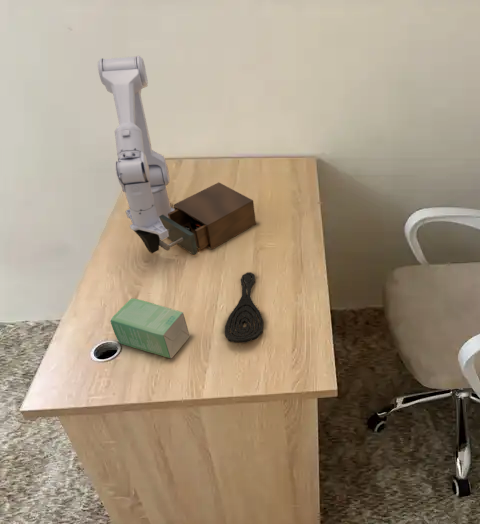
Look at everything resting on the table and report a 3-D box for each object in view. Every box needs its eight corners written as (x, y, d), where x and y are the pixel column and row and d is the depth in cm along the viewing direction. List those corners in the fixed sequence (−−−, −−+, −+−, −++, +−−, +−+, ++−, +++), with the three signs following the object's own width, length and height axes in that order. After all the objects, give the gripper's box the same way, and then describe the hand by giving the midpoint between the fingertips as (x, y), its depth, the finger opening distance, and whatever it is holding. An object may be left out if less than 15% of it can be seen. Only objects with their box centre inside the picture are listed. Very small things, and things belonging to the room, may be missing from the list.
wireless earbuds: (194, 223, 154) (192, 213, 152) (215, 230, 152) (214, 220, 150) (183, 232, 151) (180, 221, 149) (204, 239, 149) (202, 229, 147)
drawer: (176, 265, 142) (171, 246, 138) (145, 244, 149) (140, 225, 145) (237, 230, 154) (234, 211, 150) (206, 212, 160) (203, 193, 156)
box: (138, 320, 128) (130, 295, 123) (190, 336, 124) (184, 311, 120) (117, 343, 123) (107, 318, 118) (171, 360, 119) (163, 335, 114)
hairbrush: (265, 264, 139) (260, 336, 119) (266, 277, 141) (262, 348, 121) (230, 266, 139) (219, 338, 118) (232, 278, 141) (222, 351, 120)
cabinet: (212, 249, 148) (207, 225, 144) (178, 228, 156) (173, 204, 151) (256, 224, 157) (253, 200, 153) (222, 205, 165) (218, 182, 160)
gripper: (109, 200, 136) (123, 246, 144) (144, 223, 129) (157, 270, 137) (135, 188, 140) (147, 233, 149) (171, 210, 133) (181, 256, 141)
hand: (154, 250), depth 143 cm, fingers closed, pressing on drawer
